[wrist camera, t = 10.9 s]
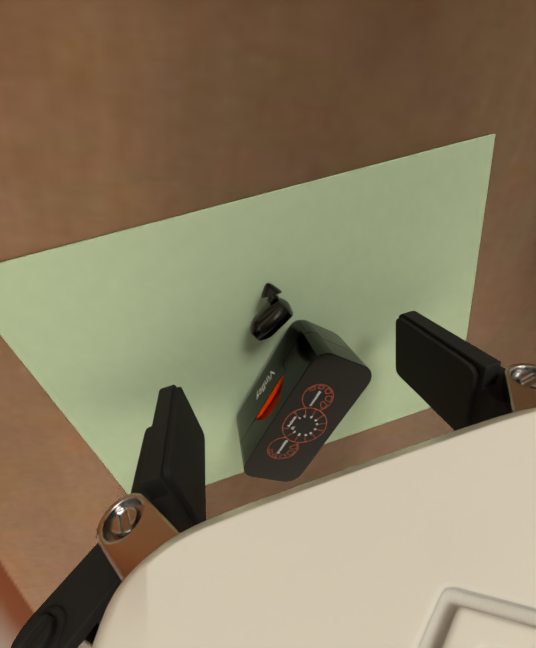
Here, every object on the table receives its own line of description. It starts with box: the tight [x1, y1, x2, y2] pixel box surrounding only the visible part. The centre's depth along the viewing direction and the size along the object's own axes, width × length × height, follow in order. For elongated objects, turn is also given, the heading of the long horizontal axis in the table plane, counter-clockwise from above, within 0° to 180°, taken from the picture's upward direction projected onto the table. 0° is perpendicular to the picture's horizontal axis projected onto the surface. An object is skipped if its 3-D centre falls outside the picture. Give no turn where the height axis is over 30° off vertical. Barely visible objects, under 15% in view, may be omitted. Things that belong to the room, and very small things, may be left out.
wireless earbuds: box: [237, 283, 372, 482], centre depth 12 cm, size 5×7×3 cm, turn 152°
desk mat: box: [0, 134, 495, 494], centre depth 13 cm, size 14×20×1 cm
